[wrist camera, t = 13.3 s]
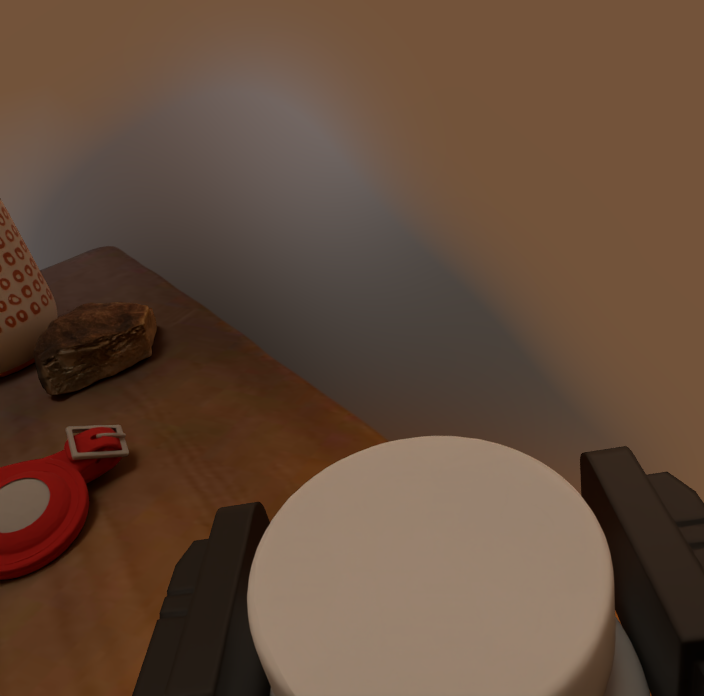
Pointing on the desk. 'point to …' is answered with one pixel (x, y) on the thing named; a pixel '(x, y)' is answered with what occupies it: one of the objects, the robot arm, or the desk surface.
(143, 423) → the desk surface
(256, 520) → the robot arm
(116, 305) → the decorative rock
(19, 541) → the tracker holder
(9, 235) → the vase
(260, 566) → the pill bottle
